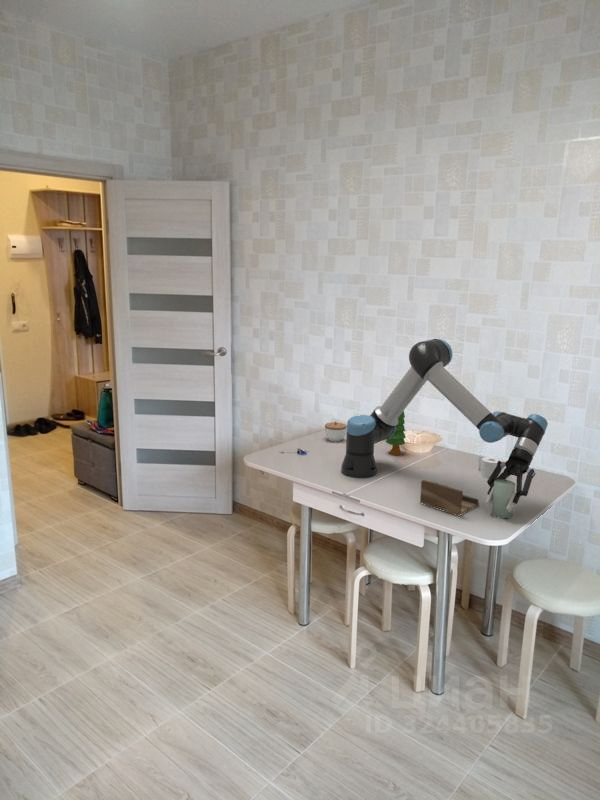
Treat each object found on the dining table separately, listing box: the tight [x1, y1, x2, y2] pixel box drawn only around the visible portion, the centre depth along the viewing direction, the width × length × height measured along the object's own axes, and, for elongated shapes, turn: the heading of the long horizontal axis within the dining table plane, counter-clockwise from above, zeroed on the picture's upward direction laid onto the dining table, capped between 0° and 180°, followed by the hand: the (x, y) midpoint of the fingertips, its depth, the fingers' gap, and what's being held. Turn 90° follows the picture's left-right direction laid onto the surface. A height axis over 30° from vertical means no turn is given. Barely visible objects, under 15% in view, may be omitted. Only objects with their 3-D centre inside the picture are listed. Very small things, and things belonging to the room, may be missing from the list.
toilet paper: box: [477, 456, 503, 479], centre depth 258 cm, size 8×11×7 cm
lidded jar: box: [324, 421, 347, 443], centre depth 305 cm, size 11×11×9 cm
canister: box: [490, 479, 516, 519], centre depth 216 cm, size 7×7×12 cm
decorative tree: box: [385, 410, 406, 456], centre depth 284 cm, size 10×9×30 cm
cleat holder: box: [419, 479, 480, 516], centre depth 224 cm, size 14×16×9 cm
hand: (497, 506), depth 214 cm, fingers closed on canister, 7 cm apart
